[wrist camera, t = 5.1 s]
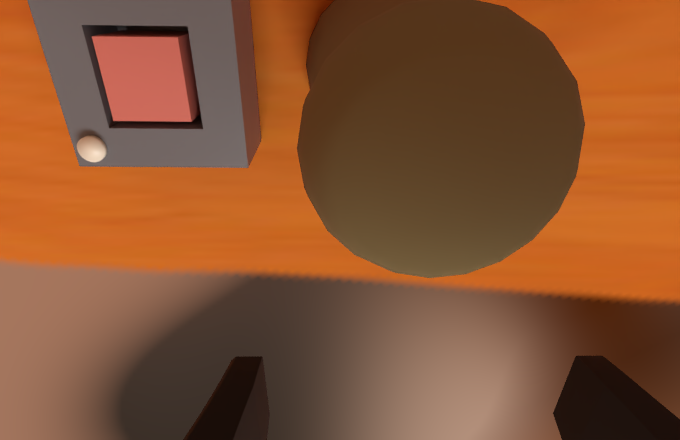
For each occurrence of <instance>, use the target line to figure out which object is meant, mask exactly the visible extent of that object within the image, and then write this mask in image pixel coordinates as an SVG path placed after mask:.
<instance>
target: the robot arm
mask: <svg viewBox="0 0 680 440" xmlns="http://www.w3.org/2000/svg"><path fill="white" fill-rule="evenodd" d="M553 414H554V417H555V420H556V423H557V426H558V429H559V432H560V435H561V438H562V440H680V419H678V418H677V417H676V416H675V415H674V414H672V413H671V412H670V411H669V410H668V409H666V408H665V407H664V406H663V405H662V404H660V403H659V402H658V401H657V400H656V399H654V398H653V397H652V396H651V395H650V394H648V393H647V392H646V391H645V390H643V389H642V388H641V387H640V386H639V385H638V384H637V383H635V382H634V381H633V380H632V379H630V378H629V377H628V376H627V375H626V374H624V373H623V372H622V371H621V370H620V369H618V368H617V367H616V366H615V365H613V364H612V363H611V362H610V361H608V360H607V359H606V358H605V357H603V356H576V357H575V360H574V362H573V365H572V367H571V370H570V372H569V375H568V377H567V380H566V382H565V385H564V388H563V390H562V392H561V395H560V397H559V400H558V402H557V405H556V408H555V410H554V412H553ZM268 425H269V405H268V397H267V389H266V382H265V373H264V365H263V357H235V358H234V359H233V360H231V362H230V364H229V366H228V368H227V370H226V372H225V373H224V375H223V377H222V379H221V381H220V382H219V384H218V386H217V387H216V389H215V391H214V392H213V394H212V396H211V397H210V399H209V401H208V402H207V404H206V406H205V407H204V409H203V410H202V412H201V414H200V415H199V417H198V418H197V420H196V421H195V423H194V424H193V426H192V427H191V429H190V430H189V432H188V433H187V435H186V436H185V438H184V439H183V440H267V434H268Z"/></svg>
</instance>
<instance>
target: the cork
mask: <svg viewBox="0 0 680 440" xmlns="http://www.w3.org/2000/svg"><path fill="white" fill-rule="evenodd" d="M306 67H307V73H308V79H309V85H310V91H309V93H308V95H307V97H306V99H305V102H304V105H303V111H302V118H301V125H300V132H299V139H298V146H297V151H298V157H299V162H300V167H301V172H302V178H303V183H304V188H305V190H306V193H307V195H308V197H309V199H310V201H311V203H312V204H313V206H314V208H315V210H316V211H317V213H318V215H319V217H320V218H321V220H322V222H323V224H324V225H325V227H326V229H327V231H329V232H330V233H331V234H332V235H333V236H334V237H335V238H336V239H337V240H339V241H340V242H341V243H342V244H343V245H344V246H345V247H346V248H348V249H349V250H350V251H351V252H352V253H353V254H354V255H356V256H359V257H361V258H363V259H365V260H367V261H370V262H372V263H374V264H376V265H378V266H381V267H383V268H385V269H387V270H390V271H392V272H395V273H400V274H407V275H413V276H420V277H427V278H434V277H443V276H452V275H461V274H467V273H470V272H472V271H475V270H478V269H481V268H483V267H486V266H489V265H492V264H494V263H497V262H500V261H502V260H503V259H505V258H506V257H508V256H509V255H511V254H512V253H514V252H515V251H517V250H518V249H520V248H521V247H523V246H524V245H526V244H527V243H529V242H530V241H532V240H533V239H534V238H535V236H536V235H537V234H538V233H539V232H540V231H541V230H542V229H543V228H544V226H545V225H546V224H547V223H548V222H549V221H550V220H551V219H552V218H553V217H554V215H555V214H556V213H557V212H558V211H559V209H560V207H561V205H562V203H563V201H564V199H565V197H566V195H567V193H568V191H569V189H570V187H571V185H572V183H573V181H574V179H575V177H576V173H577V169H578V163H579V157H580V151H581V145H582V139H583V133H584V126H585V122H584V116H583V111H582V106H581V100H580V95H579V90H578V84H577V81H576V79H575V78H574V76H573V75H572V73H571V71H570V70H569V68H568V67H567V65H566V64H565V62H564V60H563V59H562V57H561V56H560V54H559V53H558V51H557V50H556V48H555V46H554V45H553V43H552V42H551V41H550V40H549V38H548V37H547V36H546V35H545V33H543V32H542V31H540V30H539V29H537V28H536V27H535V26H533V25H532V24H530V23H529V22H527V21H526V20H524V19H523V18H521V17H520V16H519V15H517V14H516V13H514V12H513V11H511V10H510V9H508V8H507V7H504V6H500V5H495V4H491V3H486V2H482V1H477V0H334V1H333V2H332V3H331V4H330V6H329V7H328V8H327V9H326V10H325V11H324V12H323V13H322V14H321V16H320V18H319V20H318V23H317V25H316V27H315V29H314V31H313V33H312V35H311V37H310V41H309V49H308V56H307V63H306Z"/></svg>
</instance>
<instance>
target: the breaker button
mask: <svg viewBox="0 0 680 440" xmlns="http://www.w3.org/2000/svg"><path fill="white" fill-rule="evenodd" d="M92 40H93V43H94V47H95V51H96V55H97V59H98V63H99V67H100V71H101V74H102V78H103V82H104V86H105V90H106V94H107V98H108V102H109V106H110V109H111V113H112V117H113V121H171V122H192V121H193V120H194V119H195V118H196V117H197V116H198V115H199V114H200V113H201V111H200V105H199V98H198V92H197V85H196V79H195V72H194V65H193V59H192V52H191V46H190V39H189V33H188V31H139V30H120V31H115V32H111V33H106V34H101V35H96V36H92Z"/></svg>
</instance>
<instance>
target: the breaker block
mask: <svg viewBox="0 0 680 440" xmlns="http://www.w3.org/2000/svg"><path fill="white" fill-rule="evenodd" d="M28 4H29V7H30V10H31V13H32V16H33V19H34V23H35V26H36V29H37V32H38V35H39V39H40V42H41V45H42V48H43V51H44V54H45V58H46V61H47V64H48V67H49V70H50V73H51V77H52V80H53V83H54V86H55V89H56V93H57V96H58V99H59V102H60V105H61V108H62V112H63V115H64V118H65V121H66V124H67V127H68V131H69V134H70V137H71V140H72V143H73V147H74V150H75V153H76V156H77V159H78V162H79V166H107V167H230V168H248V167H249V165H250V163H251V161H252V159H253V157H254V155H255V152H256V150H257V148H258V146H259V144H260V142H261V132H260V120H259V108H258V96H257V84H256V72H255V60H254V48H253V36H252V24H251V12H250V0H28ZM120 30H139V31H188V33H189V39H190V46H191V52H192V59H193V65H194V72H195V79H196V85H197V92H198V98H199V105H200V111H201V113H200V114H199V115H198V116H197V117H196V118H195V119H194V120H193V121H192V122H171V121H113V117H112V113H111V109H110V106H109V102H108V98H107V94H106V90H105V86H104V82H103V78H102V74H101V71H100V67H99V63H98V59H97V55H96V51H95V47H94V43H93V40H92V36H96V35H101V34H106V33H111V32H115V31H120Z"/></svg>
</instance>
